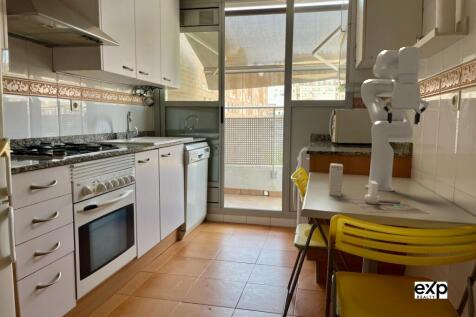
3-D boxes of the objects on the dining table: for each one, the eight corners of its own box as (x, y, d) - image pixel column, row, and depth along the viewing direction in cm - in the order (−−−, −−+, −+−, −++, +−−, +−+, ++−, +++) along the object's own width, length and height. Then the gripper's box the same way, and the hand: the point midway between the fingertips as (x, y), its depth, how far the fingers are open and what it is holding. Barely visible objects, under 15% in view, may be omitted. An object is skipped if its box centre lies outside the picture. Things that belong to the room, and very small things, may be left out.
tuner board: (342, 199, 140) (342, 196, 140) (391, 200, 142) (391, 197, 142) (370, 216, 116) (370, 212, 116) (429, 217, 118) (429, 213, 118)
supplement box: (341, 199, 142) (343, 165, 140) (328, 198, 143) (330, 165, 141) (339, 195, 150) (342, 163, 148) (327, 194, 151) (329, 162, 149)
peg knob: (365, 204, 128) (367, 183, 127) (363, 200, 135) (364, 180, 134) (402, 207, 126) (404, 185, 125) (397, 202, 133) (399, 182, 132)
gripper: (384, 78, 140) (381, 122, 142) (433, 79, 136) (429, 124, 138) (381, 80, 147) (378, 122, 149) (428, 81, 143) (423, 124, 145)
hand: (402, 123), depth 143 cm, fingers open, 9 cm apart
